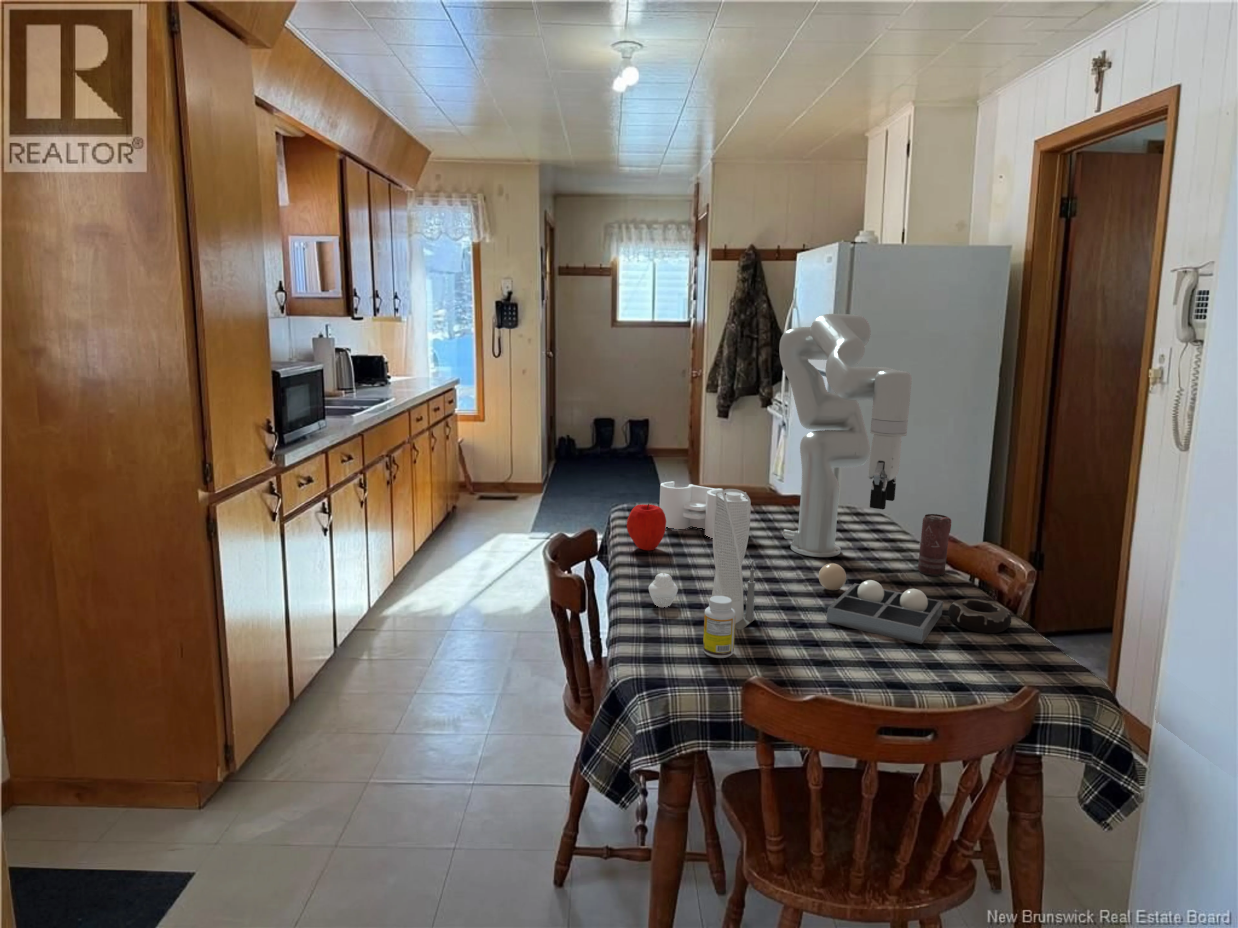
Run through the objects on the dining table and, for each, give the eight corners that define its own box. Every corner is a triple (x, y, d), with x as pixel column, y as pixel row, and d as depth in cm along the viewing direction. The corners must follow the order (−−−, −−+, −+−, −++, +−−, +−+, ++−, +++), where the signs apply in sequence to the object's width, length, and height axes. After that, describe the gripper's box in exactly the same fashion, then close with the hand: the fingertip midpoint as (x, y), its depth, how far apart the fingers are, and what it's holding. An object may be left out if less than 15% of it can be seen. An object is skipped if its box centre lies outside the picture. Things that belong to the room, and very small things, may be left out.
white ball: (895, 615, 166) (898, 590, 165) (902, 607, 170) (904, 583, 169) (923, 621, 163) (925, 595, 162) (929, 613, 167) (931, 588, 166)
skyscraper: (738, 633, 156) (746, 492, 151) (700, 624, 160) (707, 486, 155) (755, 620, 163) (763, 485, 158) (718, 611, 167) (725, 479, 162)
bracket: (651, 527, 229) (653, 485, 227) (668, 520, 237) (670, 480, 235) (732, 543, 216) (735, 499, 214) (747, 535, 224) (750, 492, 222)
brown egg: (813, 590, 181) (815, 564, 180) (822, 583, 186) (824, 558, 185) (840, 596, 178) (842, 569, 176) (848, 588, 183) (850, 563, 181)
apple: (620, 551, 205) (622, 505, 203) (634, 541, 214) (636, 497, 212) (657, 557, 202) (659, 509, 199) (670, 546, 211) (672, 501, 208)
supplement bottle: (713, 643, 150) (716, 591, 148) (739, 652, 147) (742, 599, 145) (696, 652, 146) (699, 599, 144) (722, 662, 143) (725, 607, 141)
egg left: (853, 606, 170) (855, 581, 169) (860, 598, 175) (862, 574, 174) (879, 611, 167) (881, 586, 166) (885, 604, 172) (888, 579, 171)
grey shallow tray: (826, 622, 162) (827, 607, 162) (853, 596, 178) (854, 583, 177) (921, 644, 153) (923, 629, 152) (941, 614, 168) (943, 601, 168)
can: (947, 577, 192) (954, 520, 189) (919, 575, 193) (925, 518, 191) (943, 569, 198) (949, 514, 195) (915, 567, 199) (921, 512, 197)
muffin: (657, 611, 165) (658, 579, 164) (642, 602, 171) (643, 570, 169) (682, 607, 168) (684, 575, 167) (667, 597, 174) (669, 566, 172)
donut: (938, 613, 170) (940, 595, 169) (995, 615, 169) (997, 597, 169) (959, 635, 158) (961, 615, 157) (1020, 637, 158) (1023, 618, 157)
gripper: (879, 421, 185) (873, 494, 188) (862, 430, 170) (855, 509, 173) (914, 424, 181) (907, 499, 185) (898, 433, 167) (891, 514, 170)
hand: (882, 504), depth 179 cm, fingers open, 9 cm apart
